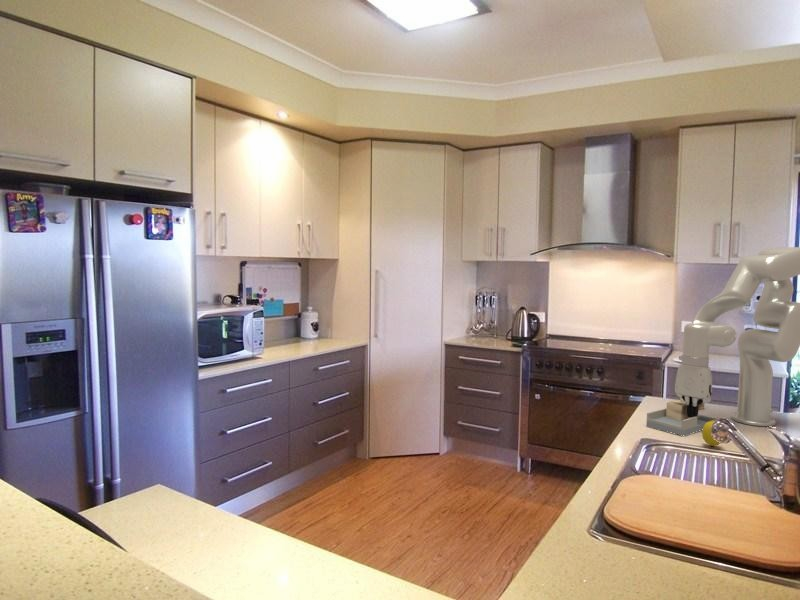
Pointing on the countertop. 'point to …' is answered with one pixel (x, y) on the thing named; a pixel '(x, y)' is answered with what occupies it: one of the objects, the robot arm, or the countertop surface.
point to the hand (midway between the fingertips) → (692, 417)
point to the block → (676, 410)
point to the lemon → (709, 434)
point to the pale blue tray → (676, 422)
